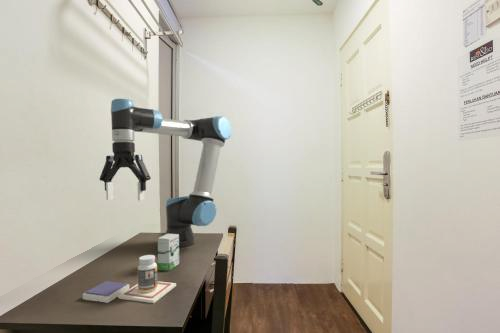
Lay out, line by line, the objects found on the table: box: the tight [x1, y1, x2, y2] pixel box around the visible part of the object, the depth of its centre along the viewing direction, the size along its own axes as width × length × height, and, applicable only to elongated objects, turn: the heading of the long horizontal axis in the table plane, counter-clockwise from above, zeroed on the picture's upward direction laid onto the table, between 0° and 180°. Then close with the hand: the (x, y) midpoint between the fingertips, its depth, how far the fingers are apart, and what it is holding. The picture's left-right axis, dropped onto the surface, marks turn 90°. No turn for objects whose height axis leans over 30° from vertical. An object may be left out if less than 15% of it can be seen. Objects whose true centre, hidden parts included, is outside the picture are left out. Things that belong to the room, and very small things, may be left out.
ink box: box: [157, 233, 180, 272], centre depth 111 cm, size 9×5×12 cm, turn 168°
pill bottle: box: [137, 254, 158, 293], centre depth 89 cm, size 6×6×10 cm
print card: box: [117, 281, 177, 304], centre depth 89 cm, size 12×12×1 cm
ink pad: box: [82, 280, 130, 304], centre depth 88 cm, size 9×9×2 cm
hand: (125, 199), depth 106 cm, fingers open, 13 cm apart
